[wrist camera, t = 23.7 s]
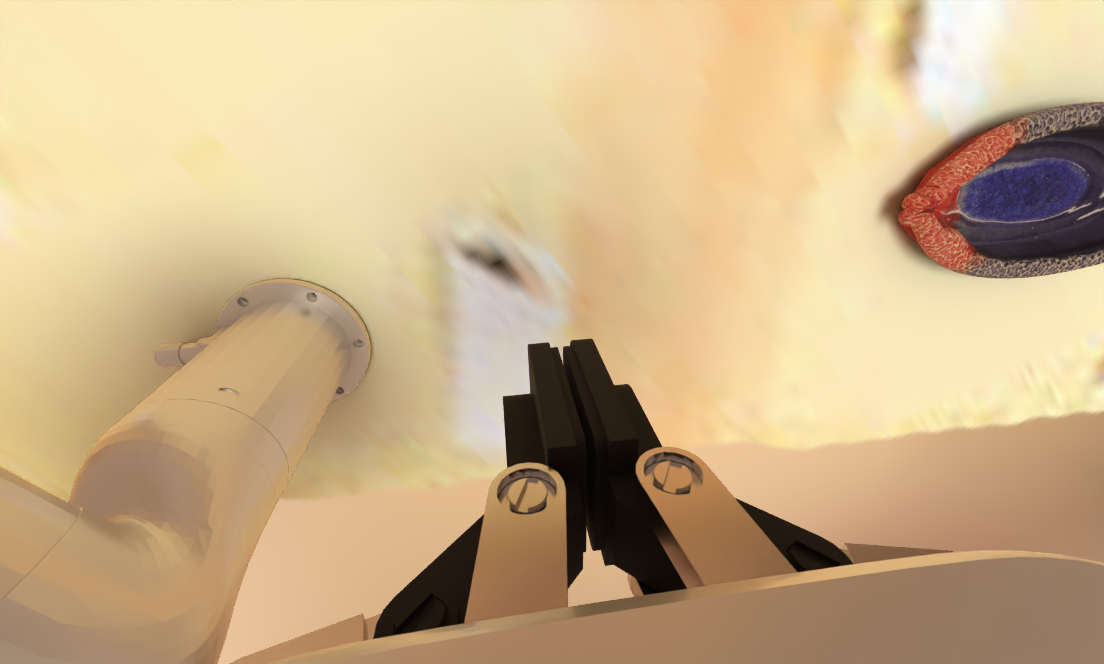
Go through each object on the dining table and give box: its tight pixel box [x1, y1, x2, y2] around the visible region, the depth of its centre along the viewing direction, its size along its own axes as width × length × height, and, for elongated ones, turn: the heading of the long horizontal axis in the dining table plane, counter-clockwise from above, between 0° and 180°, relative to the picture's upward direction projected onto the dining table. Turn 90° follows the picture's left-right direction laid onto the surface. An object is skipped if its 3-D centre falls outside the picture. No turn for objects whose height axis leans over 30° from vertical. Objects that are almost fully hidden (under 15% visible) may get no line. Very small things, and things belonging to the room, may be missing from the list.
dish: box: [898, 102, 1104, 278], centre depth 42 cm, size 16×31×5 cm, turn 89°
